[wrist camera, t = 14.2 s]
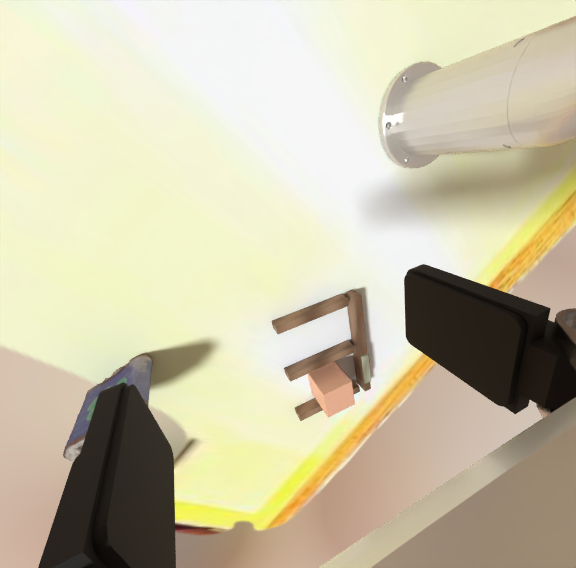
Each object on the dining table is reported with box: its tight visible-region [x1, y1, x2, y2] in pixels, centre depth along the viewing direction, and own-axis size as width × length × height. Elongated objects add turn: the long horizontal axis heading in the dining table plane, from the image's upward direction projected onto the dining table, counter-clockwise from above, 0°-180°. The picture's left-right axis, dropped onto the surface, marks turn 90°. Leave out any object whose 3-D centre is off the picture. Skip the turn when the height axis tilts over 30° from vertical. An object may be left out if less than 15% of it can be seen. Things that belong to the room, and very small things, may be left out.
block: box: [308, 362, 355, 417], centre depth 47 cm, size 5×5×6 cm
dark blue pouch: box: [63, 354, 152, 461], centre depth 32 cm, size 9×3×11 cm, turn 121°
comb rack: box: [272, 290, 371, 421], centre depth 47 cm, size 14×20×3 cm
